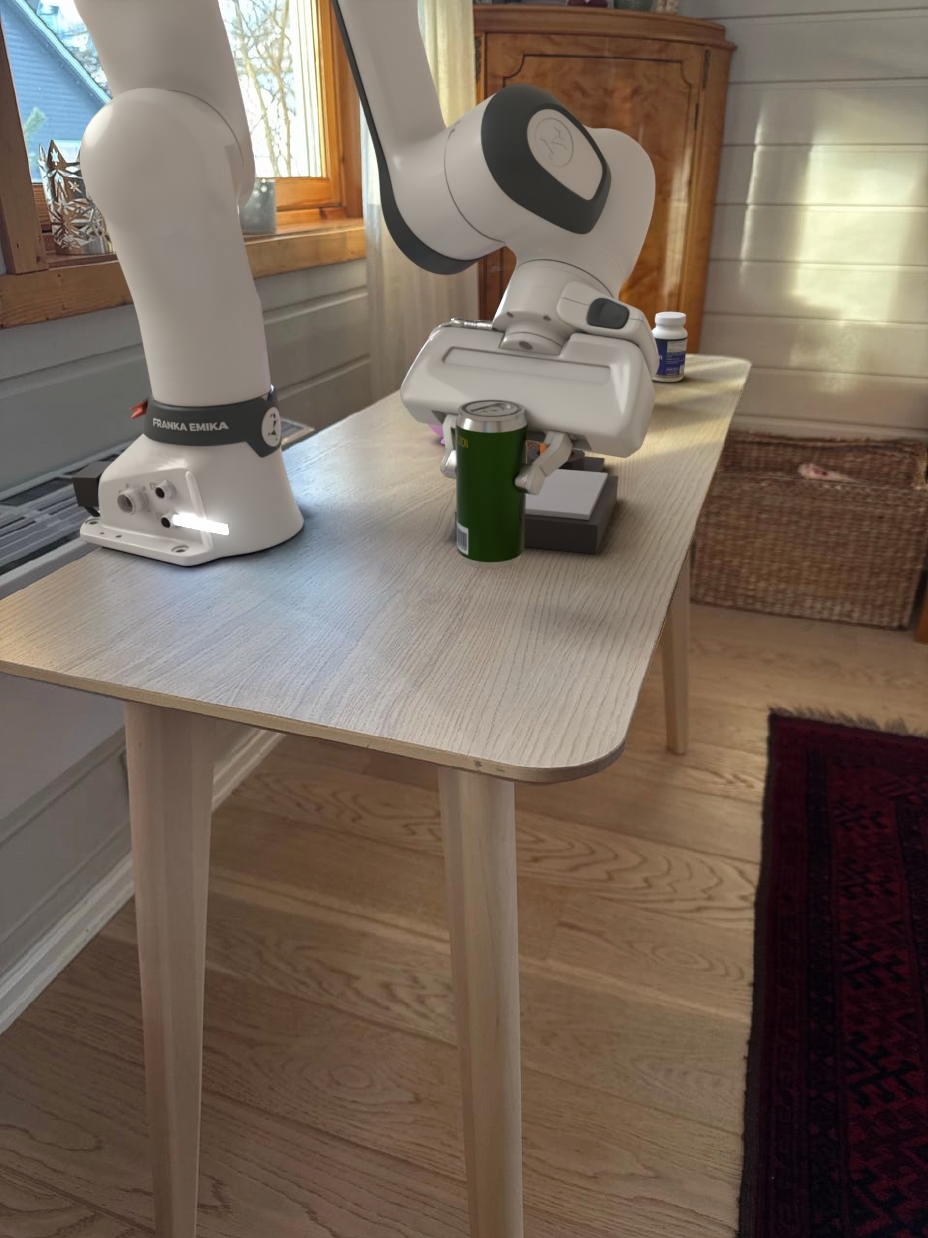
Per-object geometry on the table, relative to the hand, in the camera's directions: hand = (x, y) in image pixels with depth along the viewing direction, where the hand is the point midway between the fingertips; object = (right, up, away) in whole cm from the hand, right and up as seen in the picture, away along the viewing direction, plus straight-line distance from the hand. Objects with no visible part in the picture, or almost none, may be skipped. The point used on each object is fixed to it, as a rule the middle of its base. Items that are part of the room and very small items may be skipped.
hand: (487, 483), depth 68 cm
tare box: (+9, +6, +36) cm, 38 cm away
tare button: (+9, +8, +35) cm, 37 cm away
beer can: (0, -5, +4) cm, 7 cm away
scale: (+6, 0, +25) cm, 26 cm away
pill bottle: (+31, +28, +76) cm, 87 cm away
